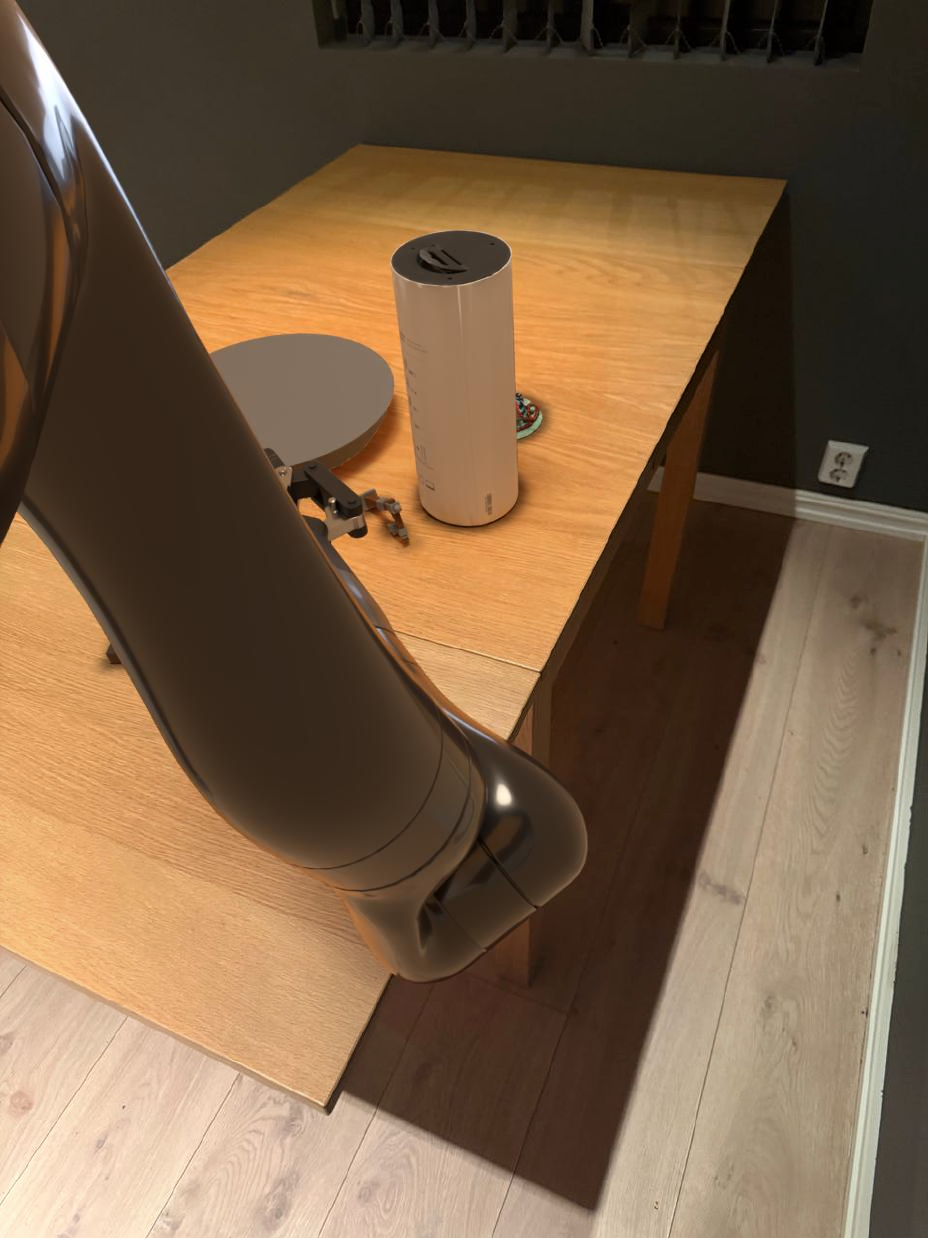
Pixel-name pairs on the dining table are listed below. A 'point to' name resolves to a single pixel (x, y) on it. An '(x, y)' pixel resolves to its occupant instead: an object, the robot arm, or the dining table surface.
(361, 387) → the flat disc
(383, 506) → the jointed metal bracket
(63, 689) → the dining table surface
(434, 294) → the speaker
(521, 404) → the painted miniature figurine
